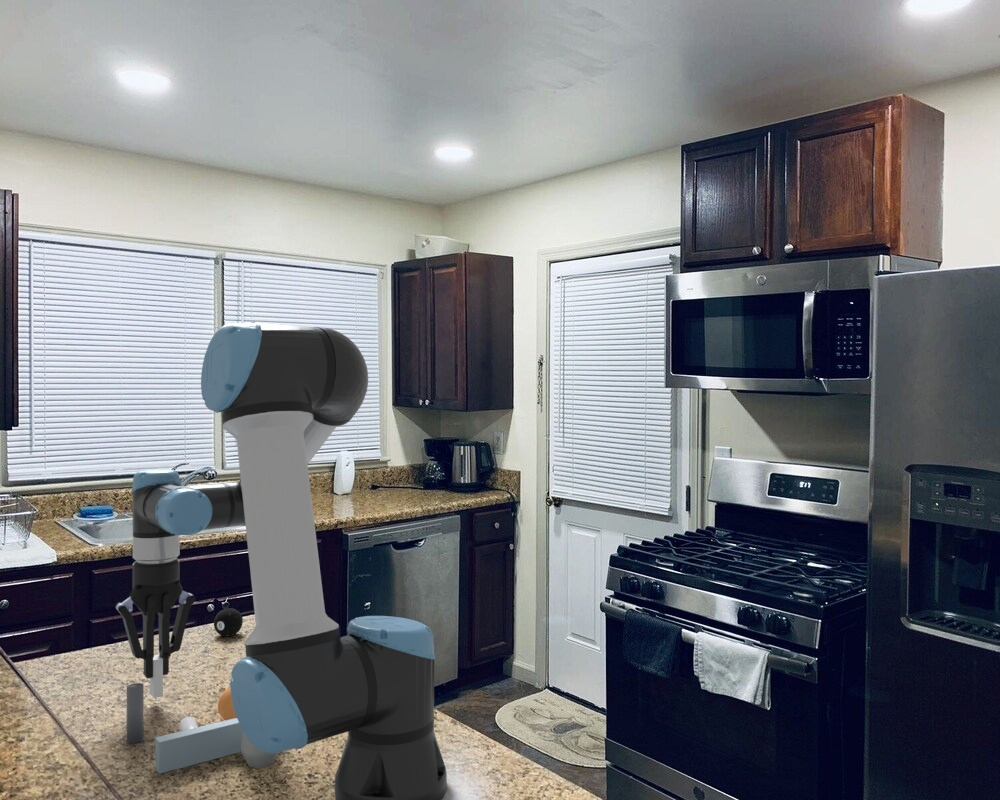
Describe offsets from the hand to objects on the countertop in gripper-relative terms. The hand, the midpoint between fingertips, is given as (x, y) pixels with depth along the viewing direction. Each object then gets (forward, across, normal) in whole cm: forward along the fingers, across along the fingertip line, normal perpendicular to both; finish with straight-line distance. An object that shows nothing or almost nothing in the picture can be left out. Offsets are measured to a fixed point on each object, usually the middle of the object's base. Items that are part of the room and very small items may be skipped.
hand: (156, 694), depth 140 cm
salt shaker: (+2, -7, +32) cm, 33 cm away
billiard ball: (+2, -24, -33) cm, 41 cm away
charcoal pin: (+2, +6, +13) cm, 15 cm away
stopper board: (+2, -3, +26) cm, 26 cm away
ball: (-1, -9, +16) cm, 18 cm away
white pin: (+1, -1, +14) cm, 14 cm away
